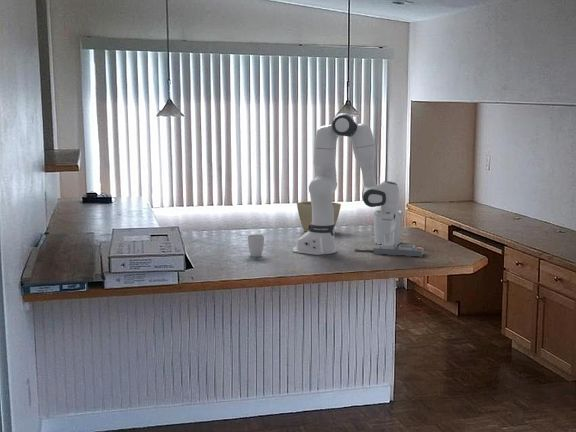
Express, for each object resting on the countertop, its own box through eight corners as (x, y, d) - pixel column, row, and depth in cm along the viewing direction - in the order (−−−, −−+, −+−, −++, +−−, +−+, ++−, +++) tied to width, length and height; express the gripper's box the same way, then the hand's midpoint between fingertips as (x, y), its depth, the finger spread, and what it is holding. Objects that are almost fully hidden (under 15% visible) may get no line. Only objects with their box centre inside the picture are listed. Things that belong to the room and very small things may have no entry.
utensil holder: (387, 246, 375) (388, 214, 373) (367, 242, 387) (368, 210, 384) (406, 243, 385) (407, 211, 382) (386, 239, 396) (386, 208, 393)
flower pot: (319, 227, 432) (319, 199, 430) (341, 231, 418) (341, 203, 415) (295, 230, 420) (295, 202, 418) (317, 235, 406) (317, 206, 403)
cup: (267, 255, 354) (267, 235, 353) (258, 258, 347) (258, 238, 346) (253, 253, 358) (253, 233, 357) (244, 256, 351) (244, 236, 350)
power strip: (352, 252, 361) (353, 244, 360) (356, 249, 369) (356, 241, 368) (421, 257, 351) (421, 248, 350) (423, 253, 359) (423, 245, 358)
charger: (383, 248, 358) (384, 231, 356) (385, 246, 362) (385, 230, 361) (392, 248, 357) (392, 232, 355) (393, 246, 361) (394, 230, 359)
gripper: (386, 210, 367) (385, 236, 369) (380, 216, 348) (379, 243, 350) (398, 210, 365) (398, 237, 368) (392, 216, 346) (392, 244, 348)
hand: (388, 240), depth 359 cm, fingers open, 8 cm apart
